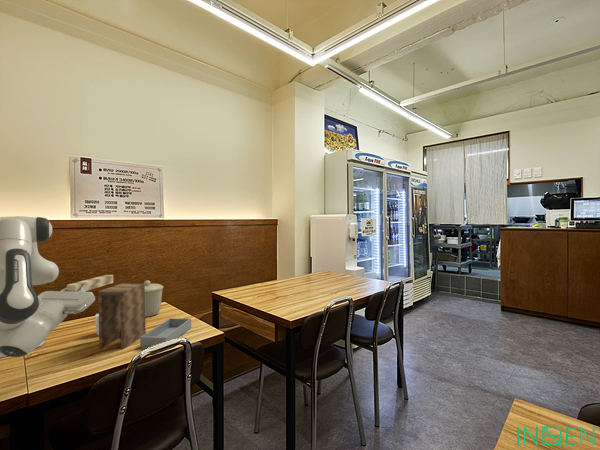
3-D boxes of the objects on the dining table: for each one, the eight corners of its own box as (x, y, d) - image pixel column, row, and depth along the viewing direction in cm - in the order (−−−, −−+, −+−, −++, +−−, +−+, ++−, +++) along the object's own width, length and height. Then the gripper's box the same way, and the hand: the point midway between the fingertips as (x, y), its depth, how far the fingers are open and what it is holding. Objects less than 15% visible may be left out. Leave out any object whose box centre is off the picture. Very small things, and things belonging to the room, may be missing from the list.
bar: (75, 294, 113) (75, 284, 112) (67, 293, 113) (66, 284, 113) (113, 282, 132) (113, 275, 132) (106, 282, 133) (105, 274, 133)
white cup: (104, 336, 148) (104, 317, 148) (91, 335, 150) (91, 316, 149) (117, 331, 156) (117, 312, 156) (104, 330, 157) (104, 311, 157)
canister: (127, 321, 171) (127, 284, 171) (134, 311, 188) (133, 278, 188) (162, 317, 177) (161, 282, 176) (165, 308, 194) (165, 276, 193)
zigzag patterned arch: (124, 348, 134) (123, 291, 134) (99, 347, 135) (98, 291, 135) (145, 334, 150) (144, 283, 150) (123, 334, 151) (122, 283, 151)
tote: (165, 348, 134) (165, 337, 134) (140, 347, 135) (140, 337, 135) (191, 327, 160) (191, 318, 159) (169, 327, 161) (169, 318, 160)
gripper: (75, 307, 102) (101, 280, 114) (20, 306, 104) (51, 279, 116) (82, 320, 105) (107, 292, 117) (30, 318, 107) (59, 291, 119)
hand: (79, 285), depth 116 cm, fingers closed on bar, 3 cm apart
